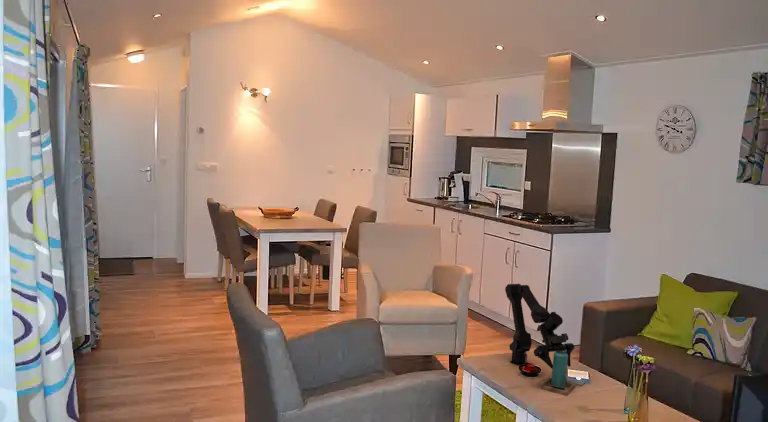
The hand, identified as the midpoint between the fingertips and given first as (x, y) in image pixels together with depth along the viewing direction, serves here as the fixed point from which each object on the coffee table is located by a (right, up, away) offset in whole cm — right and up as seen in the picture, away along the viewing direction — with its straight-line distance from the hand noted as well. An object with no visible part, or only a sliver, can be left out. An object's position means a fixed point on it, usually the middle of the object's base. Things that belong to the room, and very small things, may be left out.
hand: (561, 367), depth 289 cm
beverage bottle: (-1, -10, +2) cm, 10 cm away
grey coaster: (+9, -9, +12) cm, 18 cm away
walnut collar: (-1, -10, +2) cm, 10 cm away
